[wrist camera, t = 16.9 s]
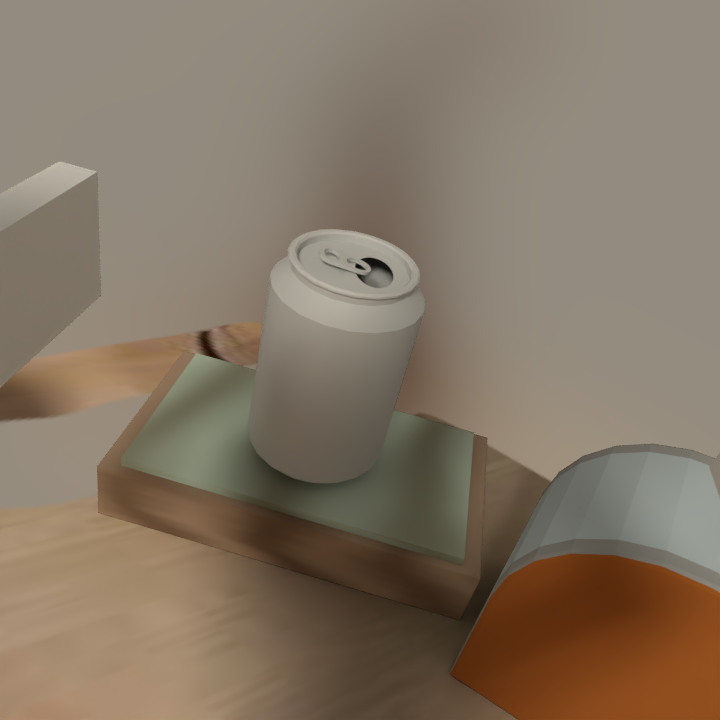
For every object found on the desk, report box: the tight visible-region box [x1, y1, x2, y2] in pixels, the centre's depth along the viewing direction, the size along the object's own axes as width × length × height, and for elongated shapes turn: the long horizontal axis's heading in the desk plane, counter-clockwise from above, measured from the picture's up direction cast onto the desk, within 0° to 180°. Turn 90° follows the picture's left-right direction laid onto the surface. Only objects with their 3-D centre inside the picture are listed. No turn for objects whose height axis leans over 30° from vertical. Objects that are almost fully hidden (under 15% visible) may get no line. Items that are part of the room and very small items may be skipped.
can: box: [248, 229, 425, 483], centre depth 35 cm, size 8×8×12 cm
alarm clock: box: [450, 444, 720, 720], centre depth 30 cm, size 15×8×14 cm, turn 59°
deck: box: [97, 351, 487, 620], centre depth 39 cm, size 20×11×4 cm, turn 79°
